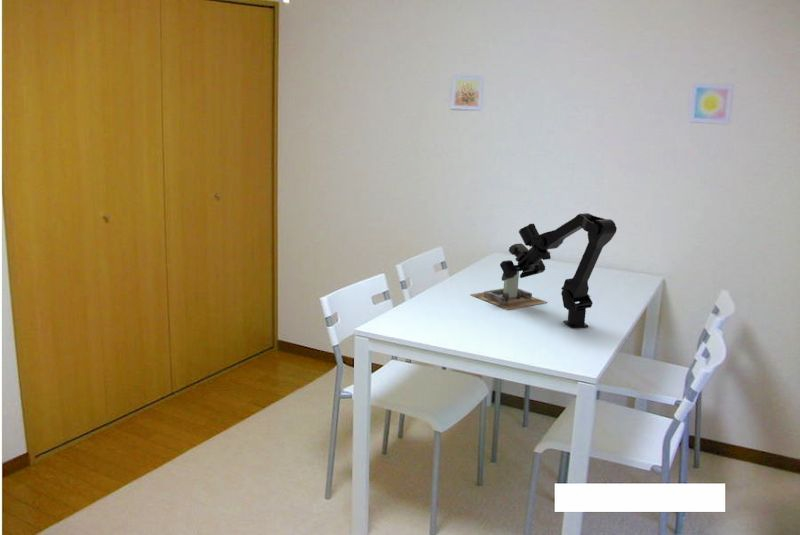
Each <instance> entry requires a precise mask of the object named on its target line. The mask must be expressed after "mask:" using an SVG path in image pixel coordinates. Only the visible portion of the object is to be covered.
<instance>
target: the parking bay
mask: <svg viewBox="0 0 800 535" xmlns="http://www.w3.org/2000/svg"><path fill="white" fill-rule="evenodd" d="M503 290H504V287H503V288H498V289H491V290H484V291H483V292H477V293H470V296H471V297H475V298H476V299H478V300H482V301H484V302H486V303H489V304H492V305H494V306H496V307H499V308H501V309H504V310H506V311H510V310H516V309H521V308H525V307H526V308H527V307H532V306H538V305H543V304H547V303H548V301H545V300H541V299H539V298H537V297H534V296H533V293H532V292H529V291H526V290H523V289H522V288H521V289H520V288H518V291H520V292H521V294H522V296H521V298H520V299H512V300H508V301H505V297H502V296H499V295H502V294H503Z"/></svg>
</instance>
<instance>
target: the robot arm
mask: <svg viewBox="0 0 800 535" xmlns="http://www.w3.org/2000/svg"><path fill="white" fill-rule="evenodd" d="M617 229H618V228H617V226H616V222H615V221H614V220H612V219H611V218H609V219H608V218H603V217H599V216H596V215H593V214H591V213H585V212H583V213H579V214H577V215H575V217H573V218H572V219H570V220H568V221H567V222H565V223H564V224H561V225H560V226H559V227H557V228H556V229H553V230H550V231H549V230H548V231H546V232H543V233H541V234H540V233H539V231H538V230H537V227H536V225H535V223H529V224H528V225H526V226H524V227H522V228H520V229H519V230H518V233H519V235H520V237H521V239H522V242H523V243H514V244H511V246H510V247H509V249H508V252H509V253H510V254H511V255H513V256H514V257H516V258H515V262H517V264H514V262H513V260H511V259H508V260H502V261H501V262H500V264H499V266H500V268H501V270H502V276H501V281H502V282H504V280H507V279H510V278H513V277H514V276H515V275H516V274H517V272H518V271H519V272H521V273H519V278H520V279H523V278H528V277H530V276H534V275H538V274H541V273H544V272H545V271H546V265H545V263H544V261H546V260H551V258H552V257H551V251H549V250H554V249H558V248H559V247H560V246H561V245H562V244H563V242H564V241H565V239H566V238H569V237H570V236H572V235H573V234H575V233H577V232H579V231H580V230H583V231H585V232H587V239H588V240H587V241H588V242H587V245H586V247H585V250H584V252H583V254H582V255H581V256H582V257H581V259H580V261H579V264H578V266H577V268H576V271H575V273H574V275H573V277H572V278H566V279H565V280H564V283H563V286H562V287H561V298H562V303H563V308H564V309H566V310H567V311H568V312H567V320H566V319H565V320H563V321H562V322H563V323H564V324H566V325H567V326H569V327H570V328H589V325H588V324H586V322H585V321H586V312H587V309H591V308H592V306H593V301H592V299H591V296H590V295H589V294H588V292H589V289H590V288H589V283H588V282H589V281H590V280H589V279H590V277H591V275H592V273H593V270H594V268H595V266H596V264H597V262H598V259H599V257H600V255H601V253H602V250H603V248H604V247H605V246H606V245H607V244H608V243H610V241H611V240H612V239H613V237H614V236H615V234H616V233H617ZM526 246H527V247H526ZM528 246H529V247H530V248H529V249H528ZM589 296H590V297H589Z"/></svg>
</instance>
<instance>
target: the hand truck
mask: <svg viewBox="0 0 800 535" xmlns="http://www.w3.org/2000/svg"><path fill="white" fill-rule="evenodd" d="M519 278H520V271H518V272H517V274H516V275H515V276H514V277H513V278H510V279H507V280H504V281H503V288H504V290H503V294H502V295H499V296H502V297H505V301H508V300H512V299H520V298H521V296H522V294H521V292H520V291H518V289H519V280H520V279H519Z"/></svg>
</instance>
